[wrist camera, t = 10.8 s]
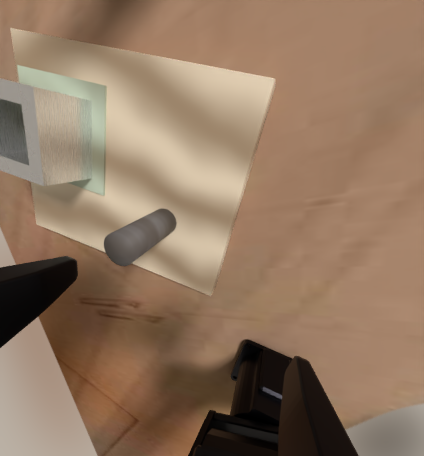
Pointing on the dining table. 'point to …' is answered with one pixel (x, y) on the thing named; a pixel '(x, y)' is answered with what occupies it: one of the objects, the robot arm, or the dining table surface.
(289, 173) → the dining table surface
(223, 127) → the board
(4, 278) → the robot arm
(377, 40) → the dining table surface
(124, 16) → the dining table surface
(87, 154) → the collar
